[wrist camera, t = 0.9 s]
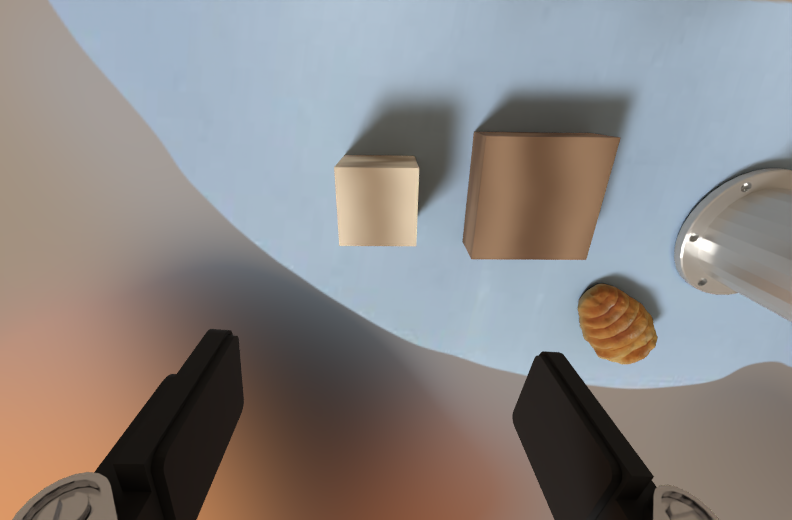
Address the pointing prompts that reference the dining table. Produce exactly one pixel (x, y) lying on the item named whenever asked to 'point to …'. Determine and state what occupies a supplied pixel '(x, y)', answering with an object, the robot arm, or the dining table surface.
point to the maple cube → (377, 200)
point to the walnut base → (536, 194)
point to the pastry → (616, 324)
